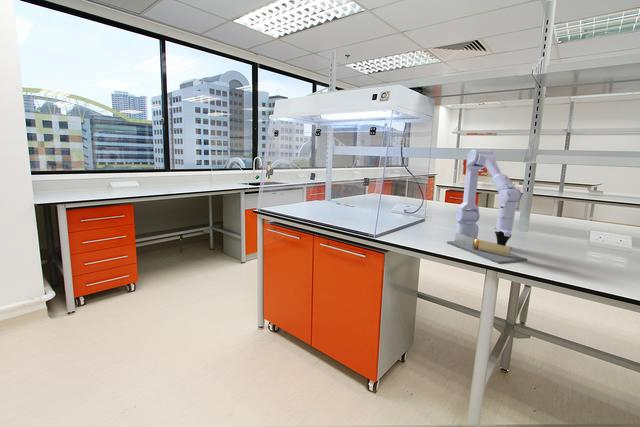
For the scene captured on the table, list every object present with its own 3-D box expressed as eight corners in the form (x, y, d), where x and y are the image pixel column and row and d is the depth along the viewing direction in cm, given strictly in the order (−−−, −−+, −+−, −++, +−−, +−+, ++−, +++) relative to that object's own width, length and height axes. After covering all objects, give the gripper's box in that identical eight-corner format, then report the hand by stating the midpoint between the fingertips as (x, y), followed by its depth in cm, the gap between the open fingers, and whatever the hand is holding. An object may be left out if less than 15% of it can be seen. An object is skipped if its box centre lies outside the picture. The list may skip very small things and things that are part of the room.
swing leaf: (474, 247, 139) (475, 238, 138) (509, 256, 130) (511, 246, 129) (472, 248, 138) (474, 239, 137) (508, 256, 128) (510, 247, 127)
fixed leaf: (456, 241, 149) (457, 232, 148) (474, 248, 139) (475, 238, 139) (454, 241, 149) (455, 232, 148) (472, 248, 139) (474, 238, 138)
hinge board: (473, 241, 154) (473, 239, 154) (527, 260, 129) (527, 258, 128) (446, 243, 149) (447, 241, 149) (498, 263, 123) (498, 261, 123)
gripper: (491, 213, 138) (486, 243, 141) (498, 219, 124) (493, 252, 127) (509, 215, 136) (504, 245, 139) (519, 221, 122) (512, 255, 125)
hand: (500, 249), depth 133 cm, fingers closed
